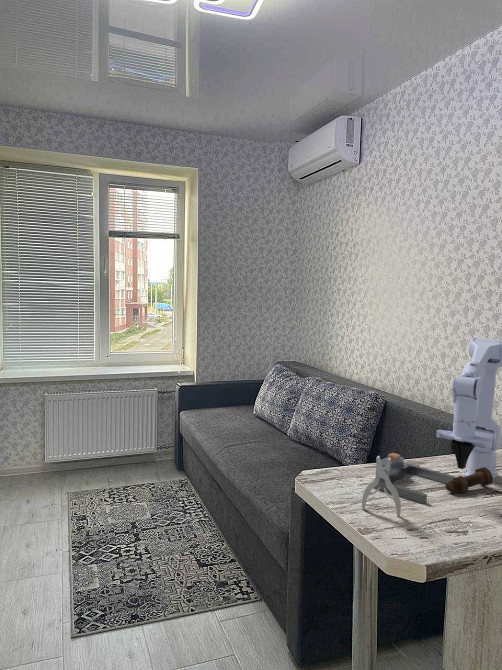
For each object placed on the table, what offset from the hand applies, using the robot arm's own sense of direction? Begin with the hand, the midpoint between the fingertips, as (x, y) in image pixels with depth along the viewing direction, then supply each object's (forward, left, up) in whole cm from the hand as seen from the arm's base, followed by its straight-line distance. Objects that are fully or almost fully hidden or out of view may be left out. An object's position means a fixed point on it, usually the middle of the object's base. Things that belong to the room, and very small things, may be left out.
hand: (461, 467), depth 143 cm
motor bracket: (0, -12, -9) cm, 15 cm away
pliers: (+24, -11, -10) cm, 28 cm away
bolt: (-2, -4, -8) cm, 9 cm away
